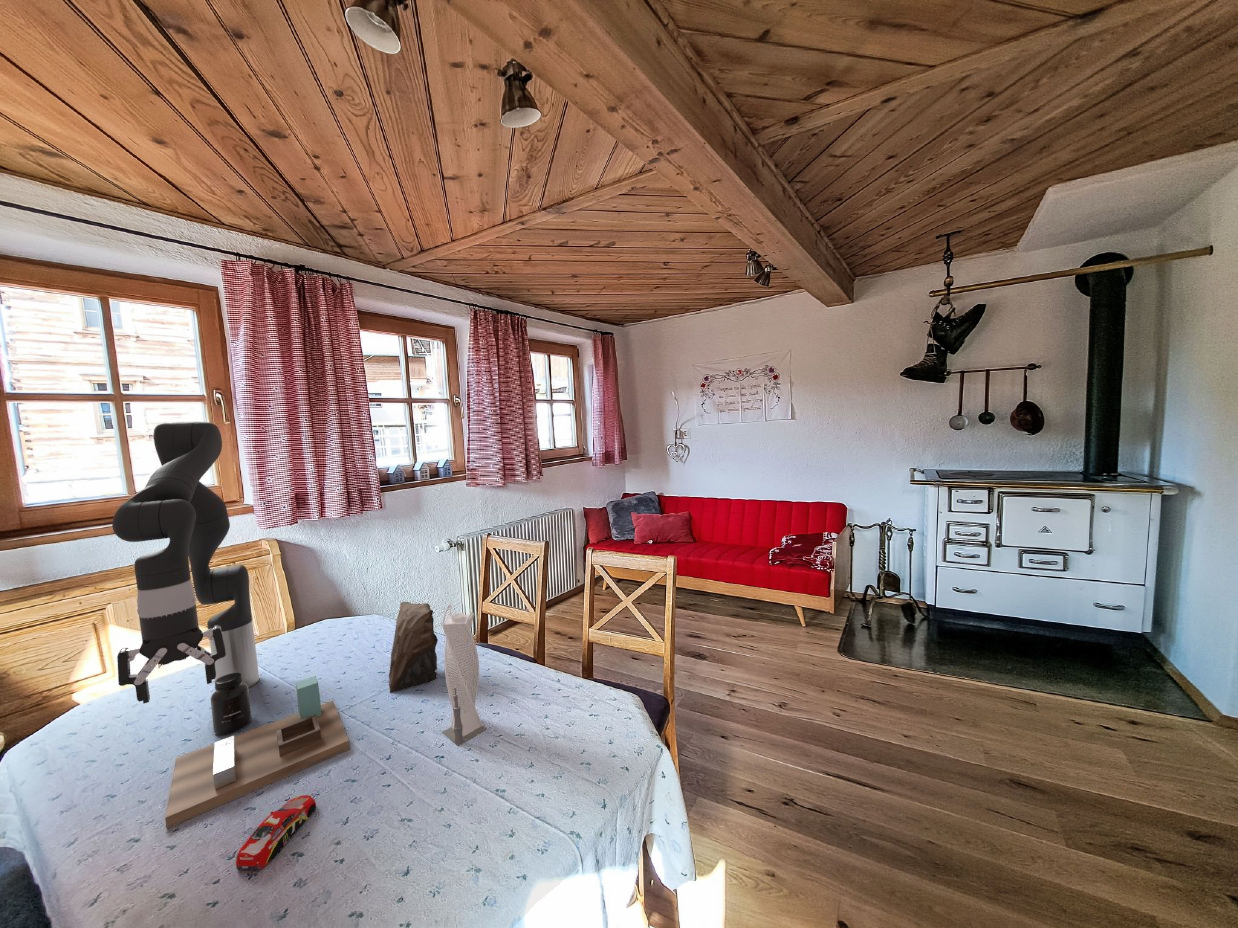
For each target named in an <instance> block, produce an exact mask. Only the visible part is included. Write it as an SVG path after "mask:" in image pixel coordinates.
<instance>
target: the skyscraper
mask: <svg viewBox="0 0 1238 928" xmlns="http://www.w3.org/2000/svg"><path fill="white" fill-rule="evenodd" d="M444 610H445V611H444V612H443V616H442V619H441V621H442V622H441V626H442V627H441V628H442V630H443V634H444V635H445V642H444V653H443V654H444V656H443V657H444V662H443V663H444V672H445V673H444V674H445V681H446V687H447V688H446V689H447V693H448V696H449V702H450V706H451V709H452V713H451V715H452V716H451V721H450V727H449V728H447V729H445V730H443V731H442V733H443V735H444V736H446V737H447V738H448V739H449V740H450V741H452V743H453V744H454V745H455V746H457V747H460V746H461V745H463V744H465V743H467V741H470V740H471V739H473V738H475V737H476V736H479V735H480V734H482V733H483V732H485V731H487V730H488V728H487V727H485V726H484V725H483V722H482V720H481V718H480V715H479V712H478V709H476V701H477V697H478V691H479V690H478V689H479V681H480V661H479V654H478V653H479V652H478V648H477V646H476V641H475V639H474V636H473V633H472V631H471V630H472V624H473V620H474V616H475V613H474V611H471V612H470V613H469V614H464V613H462V612H456V613H454V614H452V605H451V604H449V605H448V606H447V607H446V609H444ZM448 610H449V613H448V615H449V616H448V618H447V619H446V615H447V612H448ZM445 619H446V620H445Z"/></svg>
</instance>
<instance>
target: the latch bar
mask: <svg viewBox="0 0 1238 928" xmlns="http://www.w3.org/2000/svg"><path fill="white" fill-rule="evenodd" d="M234 736H235V735H231V736H229V737H226V738H223V739H220V740H218V741H215V742H214V744H215V750H214V767H213V778H214V785H215V789H218V788H220V787H222V786H225V785H227V784H230V783H232V782H234V781H236V748H235V740H234Z"/></svg>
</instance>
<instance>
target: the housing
mask: <svg viewBox="0 0 1238 928" xmlns="http://www.w3.org/2000/svg"><path fill="white" fill-rule="evenodd" d="M321 713H322V715H320V716H318V717H316V714H315V715H313V716H310V717H307V718H305V719H302V720H300V716H299V712H297V713H294V714H292V715H289V716H287V717H284V718H281V719H279V720H275V721H273V722H270V723H268V724H264V725H262V726H259V727H256V728H253V729H251V730H248V731H246V732H242V733H239V734H238V735H233V736H234V740H235V748H236V781H234V782H232V783H230V784H227V785H225V786H222V787H220V788H218V789H215V785H214V778H213V767H214V750H215V743H212V744H210V745H208V746H207V745H206V746H204V747H202V748H201V747H200V748H199V749H196V750H193V751H190V752H187V753H186V754H185V753H184V754H182V755H179V756H177V757H175V762H174V766H173V773H172V776H171V777H172V778H171V784H170V790H169V794H168V799H167V806H166V811H165V816H164V820H165V826H166V827H165V828H166V829H168V828H171V827H173V826H176V825H179V824H180V823H182V822H184V821H185V822H186V821H187V820H190V819H192V818H194V817H197V816H199V815H201V814H203V813H205V812H208V811H210V810H212V809H215V808H217V807H219V806H222V805H224V804H226V803H229V802H231V801H233V800H236V799H239V798H240V797H241V798H242V797H243V796H244V795H247V794H250V793H252V792H254V791H257V790H259V789H261V788H263V787H266V786H268V785H270V784H273V783H275V782H277V781H280V780H282V779H284V778H286V777H289V776H291V775H293V774H295V773H298V772H300V771H302V770H305V769H308V768H310V767H312V766H314V765H317V764H319V763H322V762H323V761H326V760H328V759H330V758H333V757H335V756H338V755H340V754H342V753H345V752H346V751H349V750H350V740H349V737H348V735H347V732H346V729H345V728H344V725H343V722H342V719H341V717H340V715H339V712H338V709H337V707H336V705H335V702H334V700H330V701H328V702H324V703H322V704H321Z"/></svg>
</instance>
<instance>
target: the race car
mask: <svg viewBox="0 0 1238 928" xmlns="http://www.w3.org/2000/svg"><path fill="white" fill-rule="evenodd" d="M316 807H317V803H316V800H315V799H314V797H312V796H311V795H308V794H305V795H299V796H296V797H294V798H291V799H289V800H288V801H287V802H286V803H285V804H283V805H282V806H280V808H279V809H277V810H275V811H271V812H270V813H269V815H268V816H267V817H266V818H265V819H264V820H263V821H262V822H261V823H260V824H259V826H258V827H257V828H255V830H254V831H253V832H252V834H250V837H248V839H247V840H246V841H245V843H244V844H243V845H242V846H241V847H240V849H239V850H238V852H237V854H236V859H235V867H236V869H237V871H255V870H259V869H261V868H263V867H265V866H266V865H268V864H269V863H270V862H272V860H275V858H276V857H277V856H278V855H279V854H280V853H281V850H282V849H283V848H284V847H285V846H286V844H288V843H289V842H290V840H291V839H292V838H293V837H294V836H295V834H296V833H297V832H298V831H299V830H300V829H301V827H302V826H303V825H304V824H305V823H306V821H307V820H308V819H309V818H311V816H312V815H313V814H314V813H315V811H316Z"/></svg>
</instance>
